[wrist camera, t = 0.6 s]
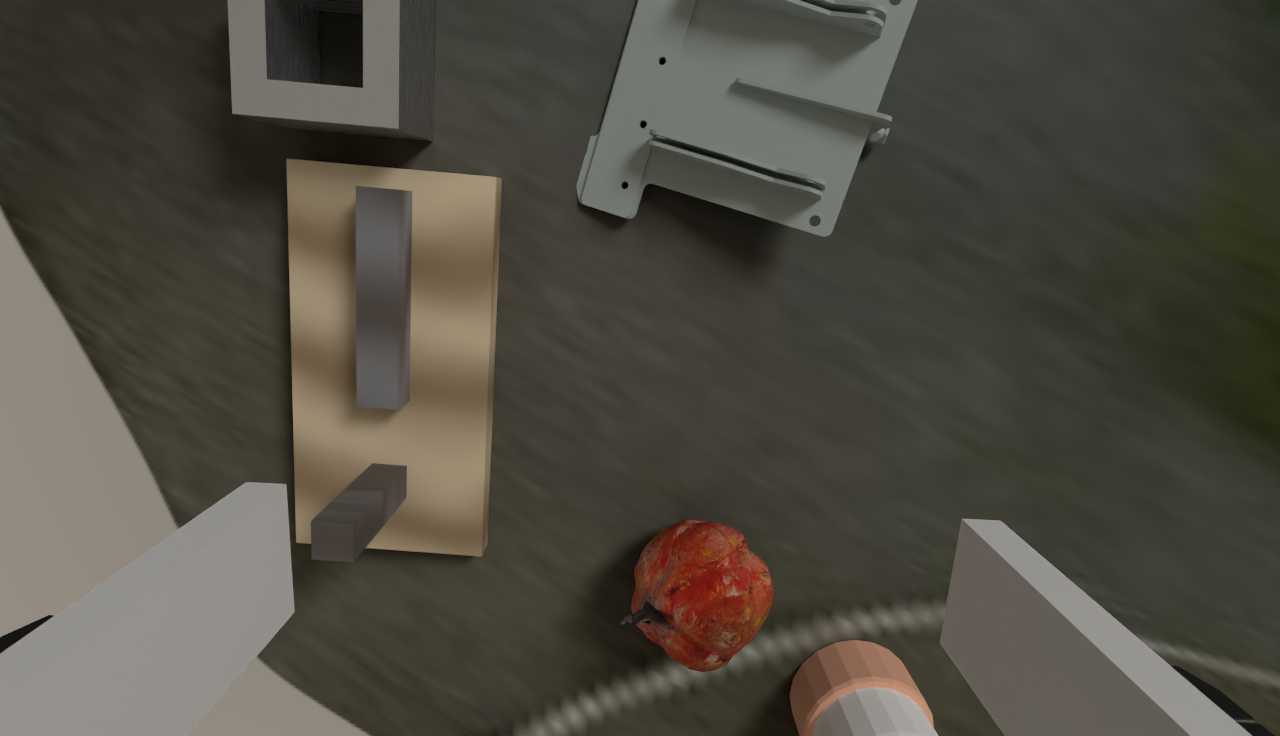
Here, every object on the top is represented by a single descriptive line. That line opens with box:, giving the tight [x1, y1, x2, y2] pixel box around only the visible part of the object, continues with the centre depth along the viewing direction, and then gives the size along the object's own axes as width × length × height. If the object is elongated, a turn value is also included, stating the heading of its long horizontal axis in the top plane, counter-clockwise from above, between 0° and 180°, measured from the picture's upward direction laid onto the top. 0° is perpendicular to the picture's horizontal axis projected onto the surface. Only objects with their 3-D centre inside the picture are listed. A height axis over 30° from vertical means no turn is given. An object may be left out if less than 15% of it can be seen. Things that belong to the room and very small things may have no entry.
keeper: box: [286, 159, 502, 563], centre depth 32 cm, size 20×10×8 cm, turn 175°
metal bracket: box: [577, 0, 918, 237], centre depth 33 cm, size 14×6×15 cm
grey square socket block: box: [228, 0, 435, 141], centre depth 31 cm, size 7×7×5 cm
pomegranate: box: [620, 519, 773, 672], centre depth 36 cm, size 7×7×10 cm
